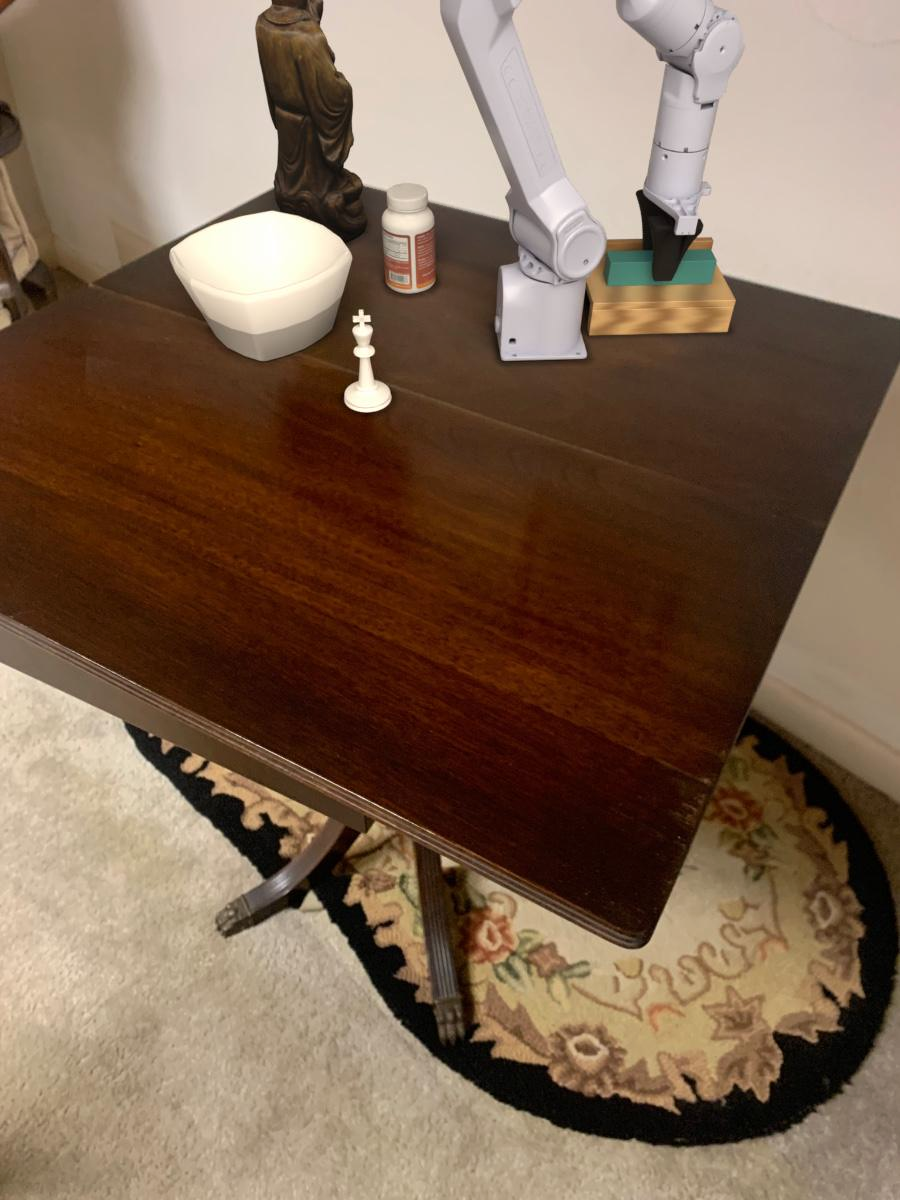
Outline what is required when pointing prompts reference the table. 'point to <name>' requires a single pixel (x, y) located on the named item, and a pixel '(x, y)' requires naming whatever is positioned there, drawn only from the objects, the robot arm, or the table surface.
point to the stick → (638, 268)
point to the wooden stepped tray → (657, 301)
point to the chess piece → (365, 373)
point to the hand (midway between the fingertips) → (657, 268)
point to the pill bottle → (408, 239)
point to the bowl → (265, 281)
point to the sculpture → (309, 118)
